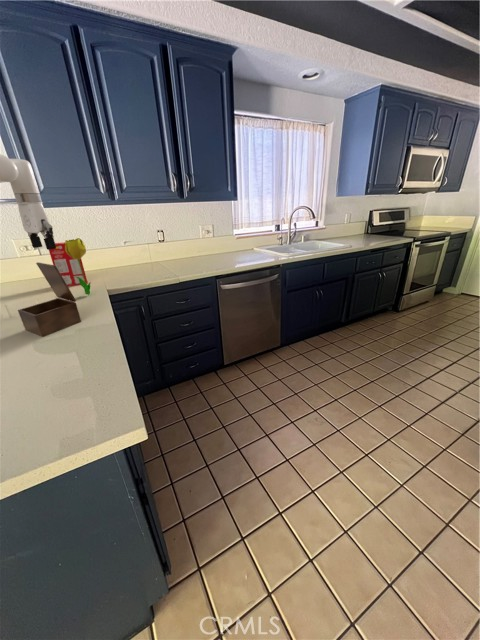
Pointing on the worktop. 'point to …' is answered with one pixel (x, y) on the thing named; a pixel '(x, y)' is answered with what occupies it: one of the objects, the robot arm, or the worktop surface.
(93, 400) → the worktop surface
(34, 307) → the chest
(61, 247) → the food packaging
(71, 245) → the flower
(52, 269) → the lid
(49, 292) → the worktop surface
